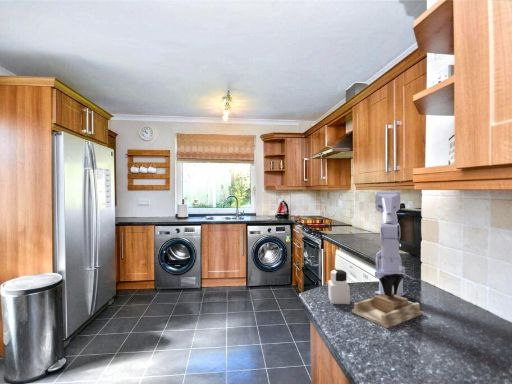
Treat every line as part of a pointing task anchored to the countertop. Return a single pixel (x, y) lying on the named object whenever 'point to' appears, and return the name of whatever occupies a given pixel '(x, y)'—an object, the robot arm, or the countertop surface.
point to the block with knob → (389, 302)
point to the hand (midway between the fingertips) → (390, 294)
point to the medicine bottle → (338, 288)
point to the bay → (386, 313)
